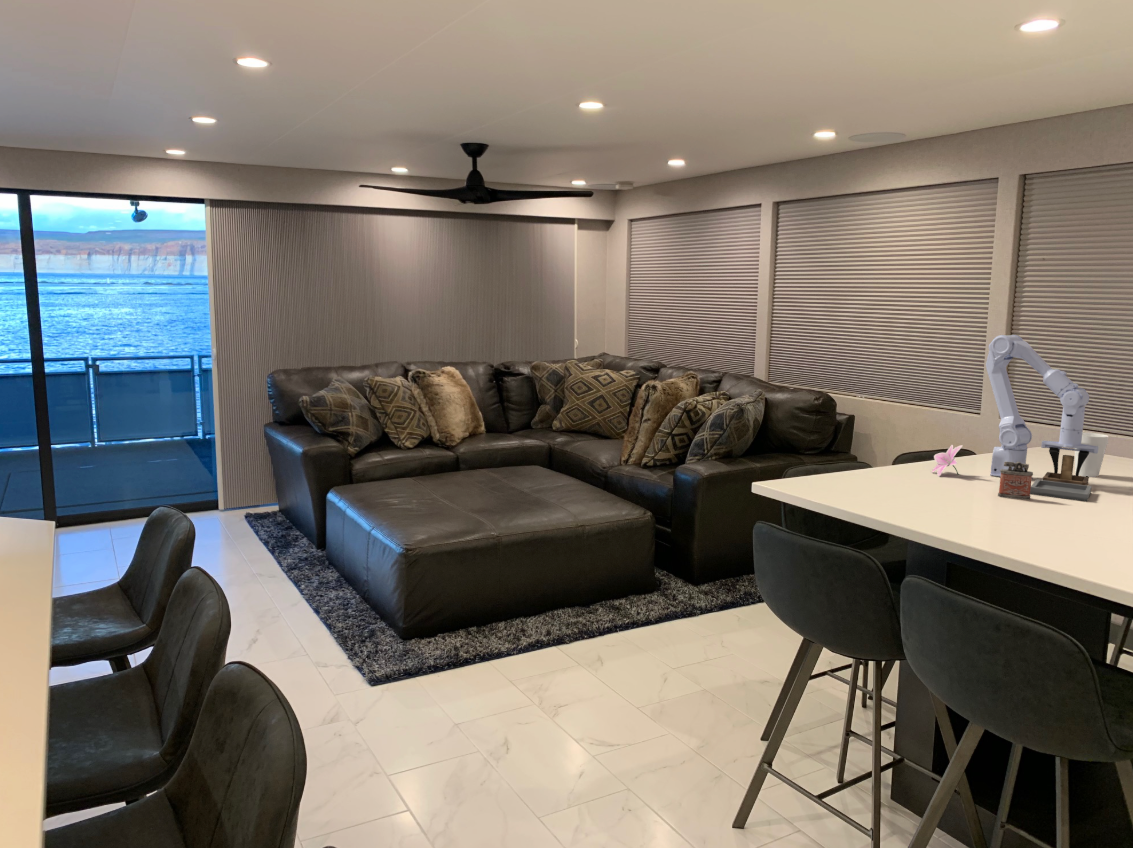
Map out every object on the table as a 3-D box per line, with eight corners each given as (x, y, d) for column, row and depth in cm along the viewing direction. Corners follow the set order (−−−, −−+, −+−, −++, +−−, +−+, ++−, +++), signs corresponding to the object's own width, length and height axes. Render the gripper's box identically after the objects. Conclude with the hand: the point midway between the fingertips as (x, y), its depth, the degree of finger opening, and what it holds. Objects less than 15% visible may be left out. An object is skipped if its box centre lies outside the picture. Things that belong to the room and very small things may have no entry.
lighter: (1029, 497, 239) (1032, 462, 237) (1031, 500, 236) (1035, 464, 234) (996, 494, 241) (1000, 459, 240) (998, 497, 238) (1002, 461, 237)
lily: (934, 472, 277) (923, 447, 275) (972, 462, 271) (962, 436, 269) (934, 490, 267) (923, 464, 265) (974, 480, 261) (963, 454, 259)
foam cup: (1104, 479, 268) (1109, 438, 266) (1070, 475, 272) (1074, 435, 270) (1103, 474, 276) (1107, 434, 274) (1069, 470, 280) (1074, 431, 278)
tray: (1029, 494, 243) (1030, 487, 243) (1035, 485, 255) (1036, 479, 254) (1087, 501, 236) (1088, 494, 235) (1090, 492, 247) (1091, 486, 247)
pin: (1058, 485, 256) (1062, 455, 255) (1059, 483, 259) (1063, 454, 257) (1070, 487, 255) (1073, 457, 253) (1071, 485, 257) (1074, 455, 256)
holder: (1042, 485, 255) (1043, 477, 255) (1046, 479, 264) (1047, 471, 264) (1085, 491, 249) (1086, 482, 249) (1087, 485, 258) (1088, 476, 258)
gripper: (1042, 428, 255) (1037, 472, 257) (1099, 433, 247) (1093, 479, 249) (1044, 425, 261) (1040, 469, 263) (1100, 430, 253) (1095, 475, 255)
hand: (1066, 474), depth 256 cm, fingers open, 5 cm apart
